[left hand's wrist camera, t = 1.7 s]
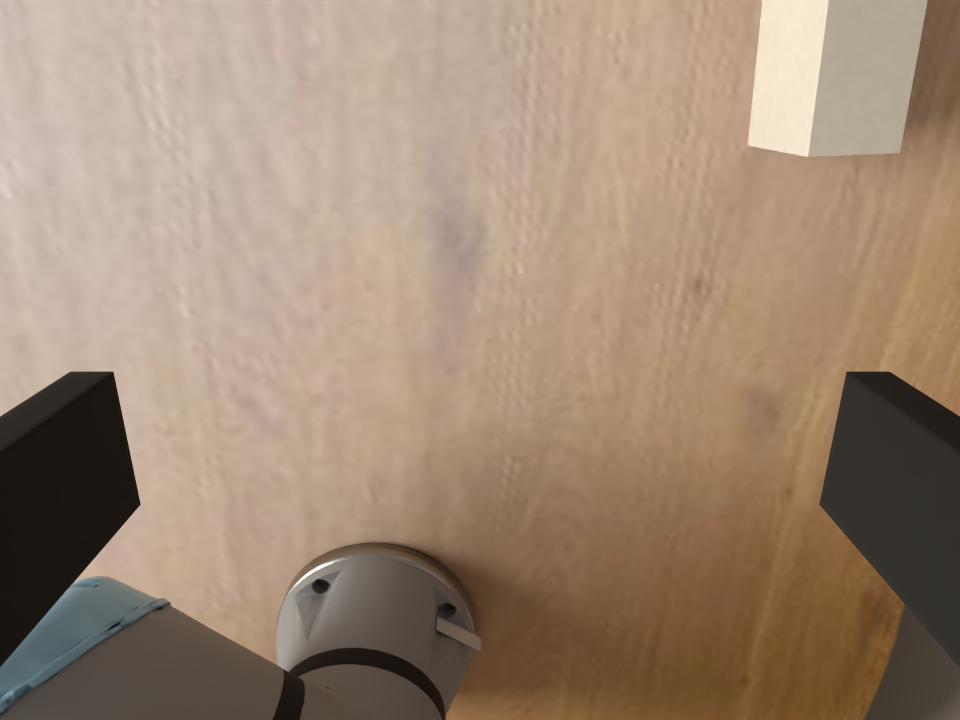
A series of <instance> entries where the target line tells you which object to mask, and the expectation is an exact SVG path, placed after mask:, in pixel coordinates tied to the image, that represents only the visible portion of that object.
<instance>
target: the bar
mask: <svg viewBox="0 0 960 720" xmlns="http://www.w3.org/2000/svg"><path fill="white" fill-rule="evenodd" d="M927 3H928V0H762V10H761V20H760V30H759V40H758V50H757V60H756V70H755V80H754V90H753V100H752V109H751V119H750V129H749V139H748V146H752V147H757V148H762V149H768V150H773V151H778V152H784V153H789V154H794V155H800V156H805V157H822V156H847V155H872V154H897V153H900V152H901V147H902V142H903V136H904V131H905V125H906V120H907V114H908V109H909V103H910V97H911V92H912V86H913V81H914V75H915V70H916V64H917V59H918V53H919V48H920V42H921V37H922V31H923V25H924V20H925V14H926V9H927Z"/></svg>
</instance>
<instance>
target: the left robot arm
mask: <svg viewBox="0 0 960 720" xmlns="http://www.w3.org/2000/svg"><path fill="white" fill-rule="evenodd" d="M139 506H140V500H139V495H138V490H137V485H136V480H135V475H134V470H133V465H132V461H131V456H130V451H129V446H128V441H127V436H126V431H125V426H124V421H123V417H122V412H121V407H120V402H119V397H118V392H117V387H116V382H115V378H114V373H113V372H69V373H68V374H66V375H65V376H63V377H61V378H60V379H58V380H57V381H55V382H54V383H52V384H51V385H49V386H47V387H46V388H44V389H43V390H41V391H40V392H38V393H36V394H35V395H33V396H32V397H30V398H29V399H27V400H26V401H24V402H22V403H21V404H19V405H18V406H16V407H15V408H13V409H11V410H10V411H8V412H7V413H5V414H4V415H2V416H0V720H445V717H446V714H447V712H448V710H449V708H450V705H451V703H452V701H453V699H454V697H455V695H456V692H457V690H458V688H459V686H460V684H461V682H462V680H463V677H464V675H465V673H466V671H467V669H468V666H469V664H470V661H471V658H472V655H473V651H474V649H476V650H478V651H480V652H481V638H480V637H478V636H476V635H475V617H474V611H473V607H472V604H471V601H470V599H469V596H468V595H467V593H466V591H465V589H464V588H463V586H462V585H461V583H460V582H459V581H458V580H457V579H456V577H455V576H454V575H453V574H452V573H451V572H449V571H448V570H447V569H446V568H445V567H443V566H442V565H441V564H440V563H438V562H436V561H435V560H433V559H432V558H430V557H428V556H426V555H424V554H422V553H419V552H417V551H414V550H411V549H408V548H405V547H401V546H396V545H390V544H380V543H364V544H355V545H350V546H345V547H341V548H338V549H335V550H332V551H330V552H327V553H325V554H323V555H321V556H319V557H318V558H316V559H315V560H313V561H312V562H310V563H309V564H308V565H306V566H305V567H304V568H303V569H302V570H301V571H300V572H299V574H298V575H297V576H296V577H295V579H294V580H293V582H292V583H291V585H290V587H289V589H288V591H287V593H286V596H285V598H284V601H283V603H282V606H281V608H280V611H279V615H278V620H277V665H276V664H274V663H272V662H271V661H269V660H267V659H265V658H263V657H261V656H259V655H258V654H256V653H254V652H252V651H250V650H248V649H247V648H245V647H243V646H241V645H239V644H237V643H236V642H234V641H232V640H230V639H228V638H226V637H225V636H223V635H221V634H219V633H217V632H215V631H214V630H212V629H210V628H209V627H207V626H205V625H203V624H202V623H200V622H198V621H196V620H195V619H193V618H191V617H189V616H188V615H186V614H184V613H182V612H181V611H179V610H177V609H175V608H174V607H172V606H170V605H171V604H170V602H169V601H167V600H166V599H163V598H162V599H156V598H154V597H152V596H149V595H147V594H145V593H143V592H141V591H139V590H136V589H134V588H132V587H130V586H128V585H126V584H124V583H122V582H120V581H118V580H116V579H113V578H109V577H102V576H96V577H89V578H85V579H82V580H80V581H77V582H75V583H73V582H74V581H75V580H76V579H77V578H78V577H79V575H80V574H81V573H82V572H83V571H84V570H85V568H86V567H87V566H88V565H89V564H90V563H91V561H92V560H93V559H94V558H95V557H96V556H97V555H98V553H99V552H100V551H101V550H102V549H103V548H104V546H105V545H106V544H107V543H108V542H109V541H110V539H111V538H112V537H113V536H114V535H115V534H116V532H117V531H118V530H119V529H120V528H121V527H122V525H123V524H124V523H125V522H126V521H127V520H128V518H129V517H130V516H131V515H132V514H133V513H134V511H135V510H136V509H137V508H138V507H139ZM820 506H821V507H822V508H823V509H824V510H825V511H826V513H827V514H828V515H829V516H830V517H831V518H832V520H833V521H834V522H835V523H836V524H837V525H838V527H839V528H840V529H841V530H842V531H843V532H844V534H845V535H846V536H847V537H848V538H849V539H850V541H851V542H852V543H853V544H854V545H855V546H856V548H857V549H858V550H859V551H860V552H861V553H862V555H863V556H864V557H865V558H866V559H867V560H868V561H869V563H870V564H871V565H872V566H873V567H874V568H875V570H876V571H877V572H878V573H879V574H880V575H881V577H882V578H883V579H884V580H885V581H886V582H887V584H888V585H889V586H890V587H891V588H892V589H893V591H894V592H895V593H896V594H897V595H898V596H899V598H900V599H901V600H902V601H903V602H904V603H905V604H906V606H907V607H908V608H909V609H910V610H911V611H912V613H913V614H914V615H915V616H916V617H917V618H918V620H919V621H920V622H921V623H922V624H923V625H924V627H925V628H926V629H927V630H928V631H929V632H930V634H931V635H932V636H933V637H934V638H935V639H936V641H937V642H938V643H939V644H940V645H941V646H942V647H943V649H944V650H945V651H946V652H947V653H948V654H949V656H950V657H951V658H952V659H953V660H954V661H955V663H956V664H957V665H958V666H959V667H960V416H958V415H956V414H955V413H953V412H952V411H950V410H949V409H947V408H945V407H944V406H942V405H941V404H939V403H938V402H936V401H934V400H933V399H931V398H930V397H928V396H927V395H925V394H924V393H922V392H920V391H919V390H917V389H916V388H914V387H913V386H911V385H909V384H908V383H906V382H905V381H903V380H902V379H900V378H899V377H897V376H895V375H894V374H892V373H891V372H847V373H846V378H845V382H844V387H843V392H842V397H841V402H840V407H839V412H838V417H837V421H836V426H835V431H834V436H833V441H832V446H831V451H830V456H829V461H828V465H827V470H826V475H825V480H824V485H823V490H822V495H821V500H820Z"/></svg>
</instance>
